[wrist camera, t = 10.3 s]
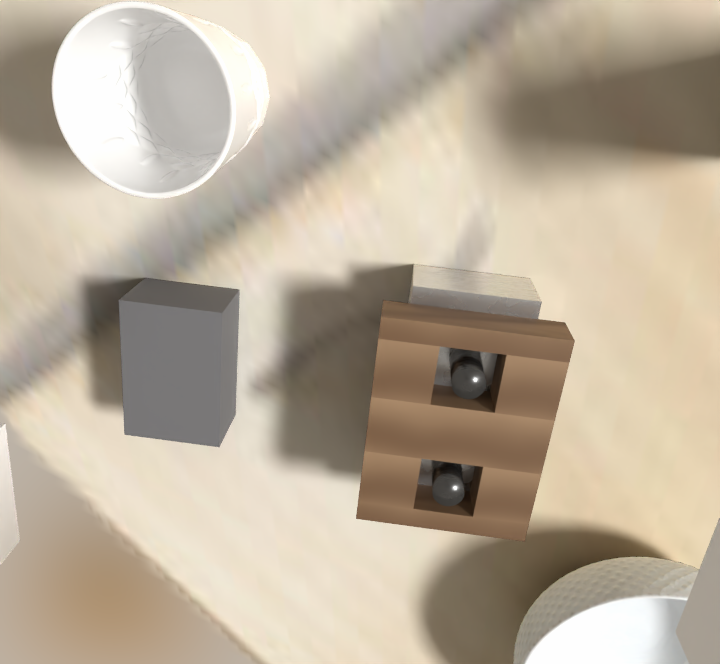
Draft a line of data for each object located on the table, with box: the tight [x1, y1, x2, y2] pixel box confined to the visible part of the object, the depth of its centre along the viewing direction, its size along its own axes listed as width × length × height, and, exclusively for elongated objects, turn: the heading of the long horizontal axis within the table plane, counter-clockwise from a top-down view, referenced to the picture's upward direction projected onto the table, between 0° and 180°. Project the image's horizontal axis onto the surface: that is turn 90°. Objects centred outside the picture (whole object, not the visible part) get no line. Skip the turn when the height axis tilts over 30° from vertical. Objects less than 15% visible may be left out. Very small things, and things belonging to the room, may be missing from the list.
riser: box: [119, 278, 239, 447], centre depth 42 cm, size 9×6×4 cm, turn 174°
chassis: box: [408, 264, 542, 506], centre depth 40 cm, size 15×7×7 cm, turn 174°
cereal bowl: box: [513, 557, 699, 664], centre depth 46 cm, size 17×17×7 cm
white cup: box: [52, 1, 270, 199], centre depth 33 cm, size 8×8×10 cm
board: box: [356, 300, 575, 541], centre depth 38 cm, size 13×10×2 cm
